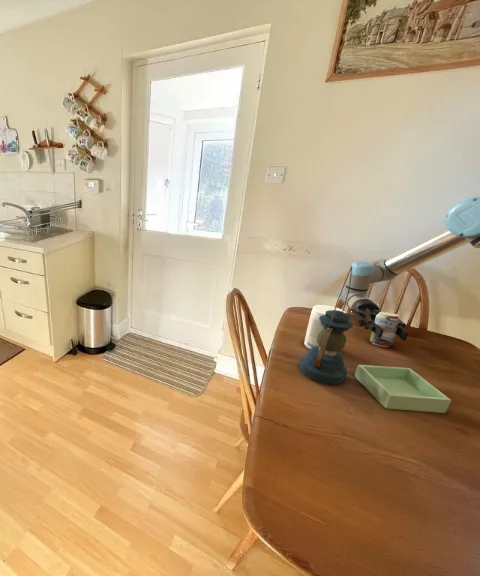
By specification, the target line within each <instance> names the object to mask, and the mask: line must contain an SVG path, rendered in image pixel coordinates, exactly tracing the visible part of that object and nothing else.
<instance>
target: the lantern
mask: <svg viewBox="0 0 480 576" xmlns="http://www.w3.org/2000/svg"><path fill="white" fill-rule="evenodd" d="M350 271H351V274H350V282H349V289H348V293H347V297H348V294H349V290H350V283H351V275H352V265H351V266H350V269H349V271H348V272H347V276H346V277H345V281H344V283H343V285H342V287H341V289H340V291H341V292H340V291H339V292H340V294H339V293H338V297H337V299H336V300H337V301H336V303H335V305H334V307H335V309H334V310H329V311H326V313H325V315H322V316H320V317H319V320H320V321H321V324H322V325H323V327H324V329H322V330H320V331H319V333H318V336H317V343H318V345H319V346H316V347H312V348H311V349H309V350H308V351H307V352H306V354H304V355H302V356H301V357H300V360H299V369H300V371H301V373H302V374H303V375H304V376H306V377H307V378H308V379H309V380H312V381H314V382H317V383H319V384H324V385H328V386H329V385H331V386H335V385H340V384H341V383H342V382H344V381H345V380H346V377H347V375H348V370H347V368H346V366H345V361H344V356H343V355H342V353H340V352H339V351H341V350H343V349H344V348H345V346H346V344H347V336H346V334H345V333H346V332H347V331H349V330H350V329H352V328H353V326H354V323H353V322H352V321H351V320H350V319H351V316H350V315H349V313H347V312H346V313H344V312H343V311H345V307H346V301H347V297H346V300H345V303H343V308H342V310H343V311H338V310H336V308H337V307H338V303H339V300H340V295H341V293H342V290H343V288H344V287H345V286H346V283H347V279H348V276H349V273H350Z"/></svg>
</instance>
